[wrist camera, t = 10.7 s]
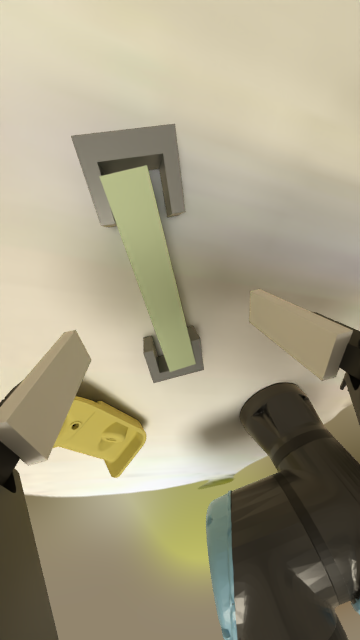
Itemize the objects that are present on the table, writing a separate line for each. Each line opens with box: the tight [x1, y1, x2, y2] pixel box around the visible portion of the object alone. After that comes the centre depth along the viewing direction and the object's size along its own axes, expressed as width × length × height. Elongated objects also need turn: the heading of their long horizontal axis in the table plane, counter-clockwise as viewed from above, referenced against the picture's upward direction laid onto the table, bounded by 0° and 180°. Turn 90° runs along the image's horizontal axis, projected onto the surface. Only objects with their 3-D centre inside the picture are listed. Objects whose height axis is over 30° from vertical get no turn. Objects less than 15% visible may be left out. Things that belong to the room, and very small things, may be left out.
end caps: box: [71, 124, 204, 383], centre depth 19 cm, size 25×7×4 cm, turn 9°
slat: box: [99, 165, 196, 372], centre depth 19 cm, size 20×4×5 cm, turn 13°
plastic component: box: [53, 396, 146, 478], centre depth 27 cm, size 20×7×10 cm
